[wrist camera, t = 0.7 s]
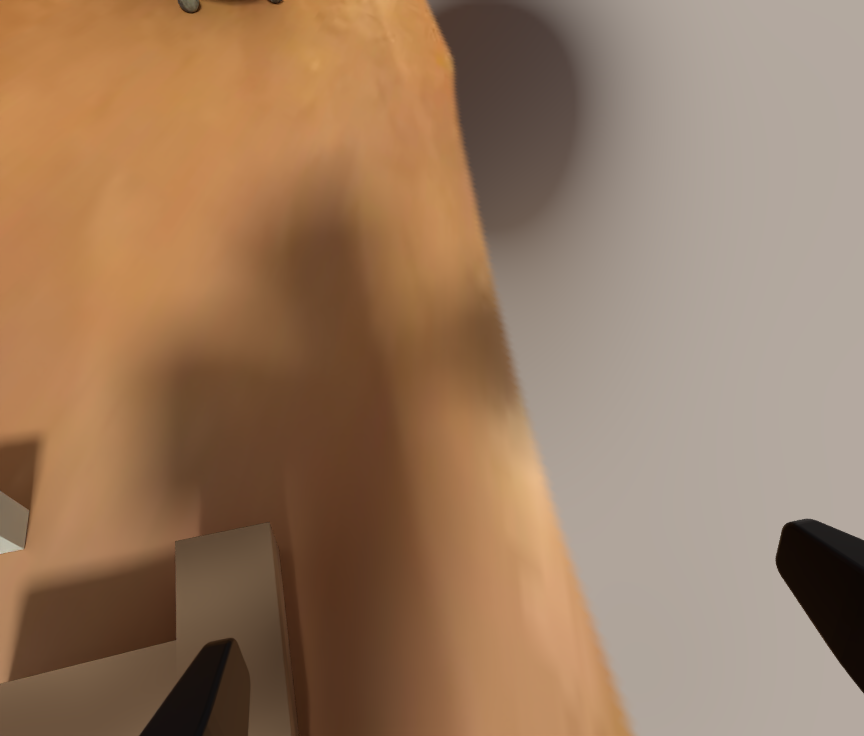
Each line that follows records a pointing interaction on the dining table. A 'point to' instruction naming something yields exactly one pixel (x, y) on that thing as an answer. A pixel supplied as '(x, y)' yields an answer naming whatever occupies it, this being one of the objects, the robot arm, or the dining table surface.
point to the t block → (177, 649)
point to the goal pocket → (12, 524)
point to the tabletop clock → (191, 3)
